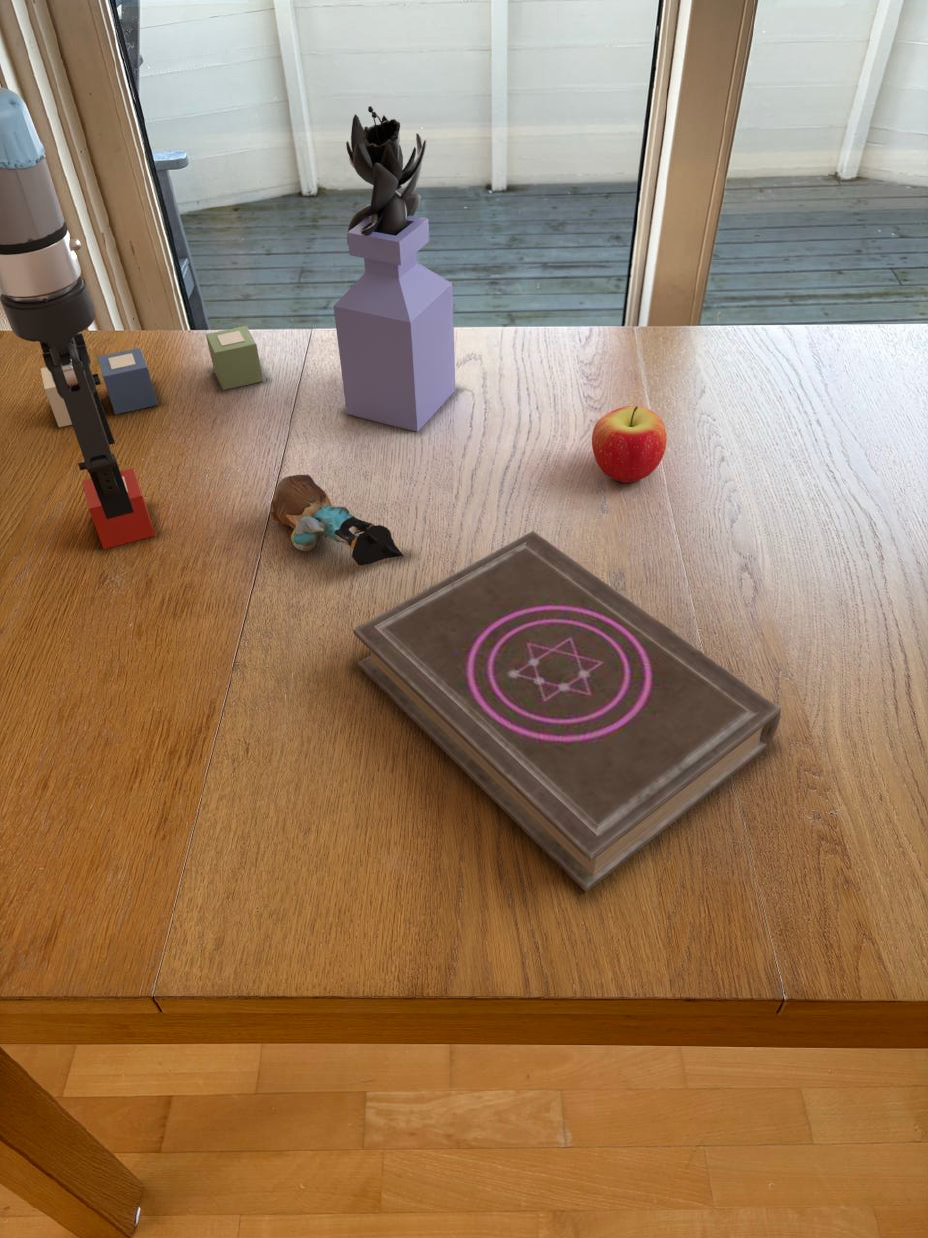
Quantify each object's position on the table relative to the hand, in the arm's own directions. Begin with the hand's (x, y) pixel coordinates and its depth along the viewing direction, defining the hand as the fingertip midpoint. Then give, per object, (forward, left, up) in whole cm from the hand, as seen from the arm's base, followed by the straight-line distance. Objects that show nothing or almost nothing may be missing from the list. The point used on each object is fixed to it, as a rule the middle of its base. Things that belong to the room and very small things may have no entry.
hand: (110, 477), depth 100 cm
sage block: (+19, +27, -7) cm, 34 cm away
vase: (+37, +12, -7) cm, 39 cm away
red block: (0, 0, -7) cm, 7 cm away
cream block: (-2, +27, -7) cm, 28 cm away
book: (+32, -42, -7) cm, 53 cm away
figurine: (+20, -12, -7) cm, 24 cm away
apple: (+55, -14, -7) cm, 57 cm away
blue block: (+5, +27, -7) cm, 28 cm away
